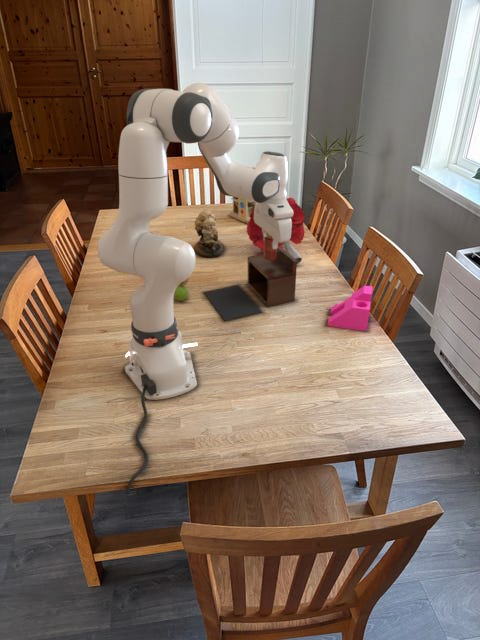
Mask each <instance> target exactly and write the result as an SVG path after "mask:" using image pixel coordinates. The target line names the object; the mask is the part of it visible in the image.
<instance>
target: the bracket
mask: <svg viewBox="0 0 480 640" xmlns="http://www.w3.org/2000/svg"><path fill="white" fill-rule="evenodd" d="M372 296H373V286H371V285H362V286H361V287H360V288H358V289H357V290H355V291H354V292H352V293H351V296H349V297H348V298H347V299H345V300H344V301H342V302H340V303H339V302H337V303H335V304H334V305H332V306H331V308H330V311H329V315H331V316H329V317H328V321H327V326H329V327H335V328H341V329H347V330H353V331H354V330H355V331H362V332H367V330H368V323H369V318H370V311H371V304H372V303H371V302H372Z"/></svg>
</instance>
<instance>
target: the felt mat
mask: <svg viewBox="0 0 480 640" xmlns="http://www.w3.org/2000/svg"><path fill="white" fill-rule="evenodd" d="M203 294H204V295H205V297H206V298H207V299H208V300H209V302H210V303H211V305H212V306H213V307H214V308H215V310H216V311H217V312H218V313H219V315H220V317H221V318H222V319H223V320H224V322H227V321H232V320H236V319H241V318H245V317H249V316H254V315H257V314H262V313H263V311H262V310H261V309H260V308H259V306H258V305H257V304H256V303H255V302H254V301H253V300H252V299H251V298H250V297H249V295H248V294H247V293H246V292H245V291H244V290H243V289H242V288H241V287H240V286H239V284H236V285H231V286H227V287H222V288H217V289H212V290H211V289H210V290H207V291H204V292H203Z"/></svg>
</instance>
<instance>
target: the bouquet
mask: <svg viewBox="0 0 480 640" xmlns="http://www.w3.org/2000/svg"><path fill="white" fill-rule="evenodd" d="M286 200H287V201H288V204H289V205H290V207H291V208H292V210H293V216H292V217H290V218H291V220H292V229H291V238H290V240H289V241H288V242H282V243H280V242H279V243H278V246H279V247H281V248H282V246H283V248H284V251H285V252H287V253H288V254H289V255H290V256H291V257H293V258H294V259H295V260H296V261H297V265H298V264H300V263H301V262H302V261H303V257H301V255H300V253H299V252H298V250H297V249H296V248H295V247H294V246H293V245H292V244H291V243H290V242H292V243H293V244H295V245H300V244H301V243H302V242H303V240H304V237H305V234H306V233H305V226H304V223H305V221H306V215H305V213H304V210H303V209H302V208H301V206H300V205H299V204H298V203H297V201H296V199H295V198H293V197H287V196H286ZM254 209H255V207H254V208H253V210H252V213H251V214H250V216H249V217H250V220H249V222H248V224H247V223H246V233H247V236H248V239H249V240H250V241H251V242H252V245H254V246H255V247H258V248H260V250H261V251H262V252H264V236H263V233H262V228H261V227H260V226H258V225H257V224H256V223H255V222H254Z"/></svg>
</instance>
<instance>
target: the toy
mask: <svg viewBox="0 0 480 640" xmlns="http://www.w3.org/2000/svg"><path fill="white" fill-rule="evenodd" d="M272 242H273V239H272V236H271V235H270V234H268V233H267V232H266V237H265V238H264V251H263V254H264V259H266V260H275V259H276V253H277V249H273V248H272V247H271V243H272Z"/></svg>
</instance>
